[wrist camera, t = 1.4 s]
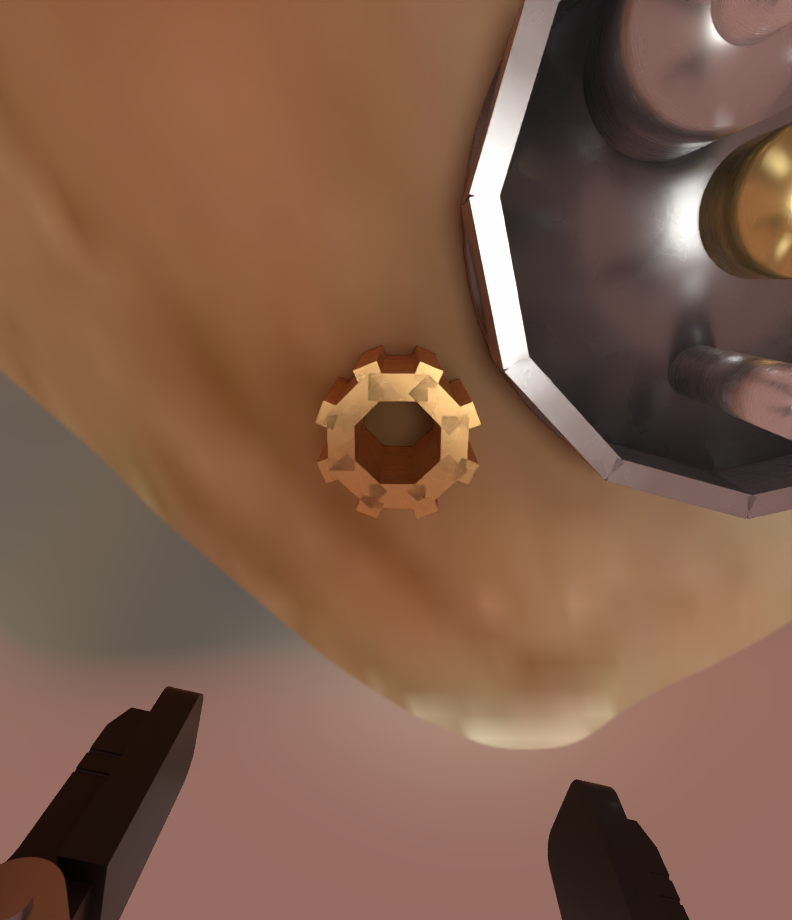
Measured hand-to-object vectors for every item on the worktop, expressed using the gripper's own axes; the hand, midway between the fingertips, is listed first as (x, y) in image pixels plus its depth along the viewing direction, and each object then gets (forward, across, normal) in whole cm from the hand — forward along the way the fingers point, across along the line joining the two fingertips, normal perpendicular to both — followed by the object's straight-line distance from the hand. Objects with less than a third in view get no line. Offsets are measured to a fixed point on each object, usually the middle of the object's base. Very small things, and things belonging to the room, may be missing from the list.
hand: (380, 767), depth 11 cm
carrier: (+15, -11, -16) cm, 25 cm away
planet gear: (+15, +1, -4) cm, 16 cm away
